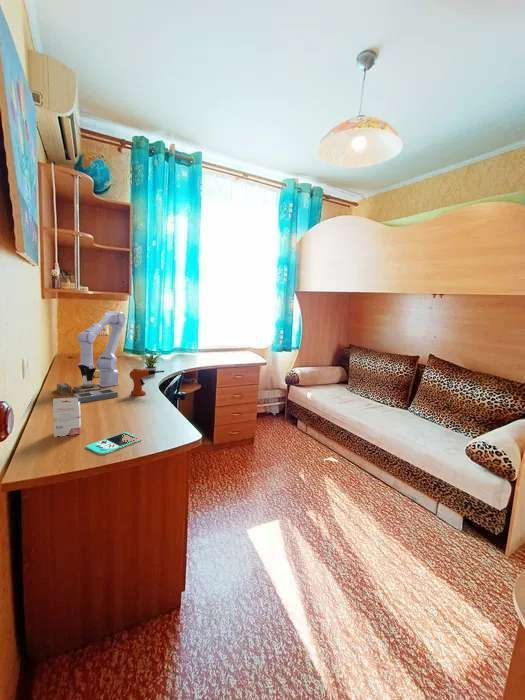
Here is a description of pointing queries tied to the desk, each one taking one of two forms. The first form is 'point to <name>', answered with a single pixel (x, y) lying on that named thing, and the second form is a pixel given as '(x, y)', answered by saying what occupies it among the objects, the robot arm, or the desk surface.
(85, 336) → the robot arm
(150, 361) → the house plant
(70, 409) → the ink cartridge box
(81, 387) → the socket block
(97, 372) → the rubber stamp
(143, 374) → the toy drill
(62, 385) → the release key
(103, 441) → the handheld game console
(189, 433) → the desk surface
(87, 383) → the shiny metal cylinder
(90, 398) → the rack
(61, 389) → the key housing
